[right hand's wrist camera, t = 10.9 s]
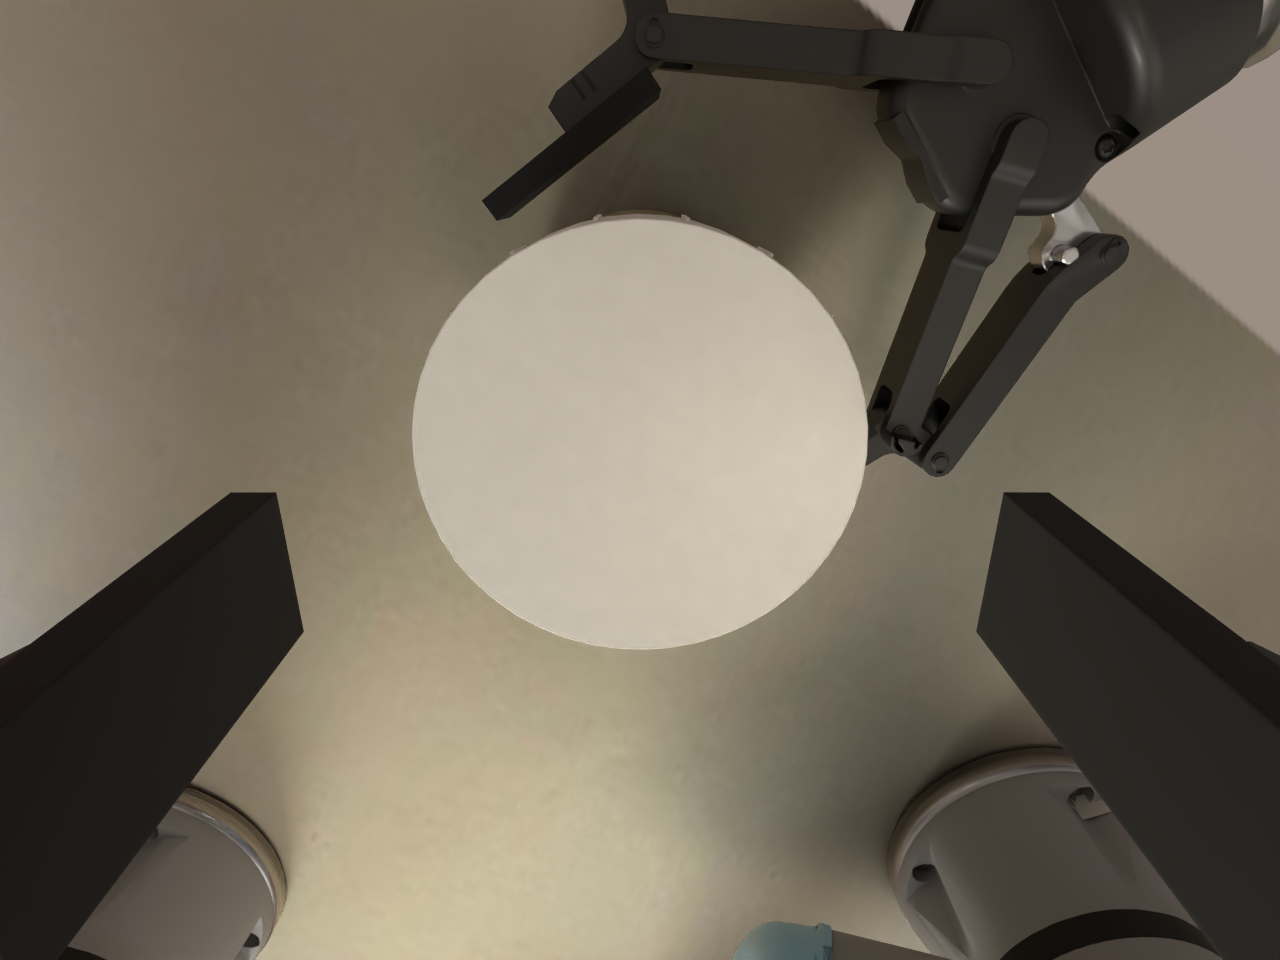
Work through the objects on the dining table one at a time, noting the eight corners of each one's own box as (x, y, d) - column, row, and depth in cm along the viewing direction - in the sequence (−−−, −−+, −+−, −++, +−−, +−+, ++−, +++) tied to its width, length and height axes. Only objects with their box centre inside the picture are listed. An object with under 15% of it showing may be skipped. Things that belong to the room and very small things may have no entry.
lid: (740, 651, 23) (751, 703, 20) (389, 531, 21) (359, 573, 19) (919, 313, 19) (957, 331, 17) (507, 139, 17) (487, 132, 15)
